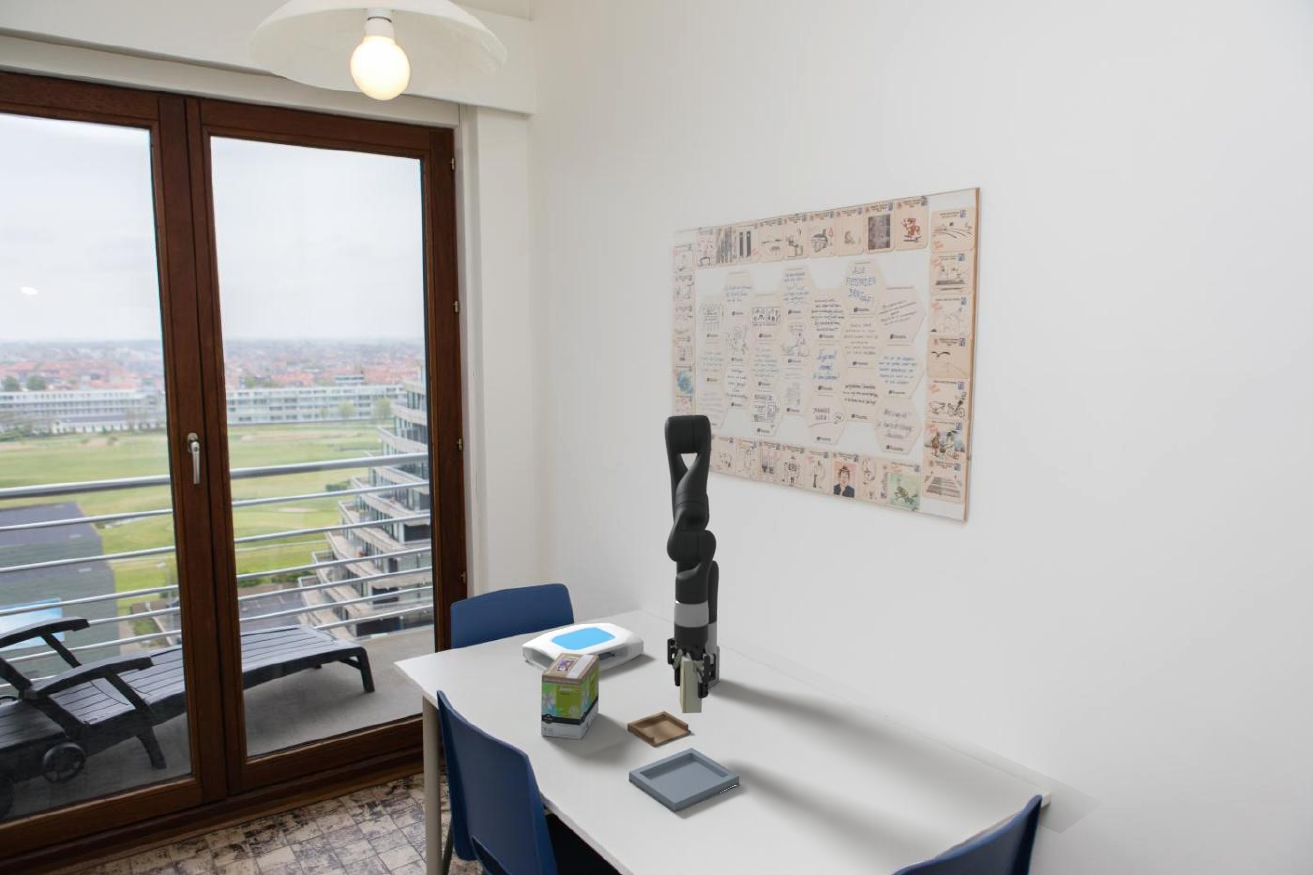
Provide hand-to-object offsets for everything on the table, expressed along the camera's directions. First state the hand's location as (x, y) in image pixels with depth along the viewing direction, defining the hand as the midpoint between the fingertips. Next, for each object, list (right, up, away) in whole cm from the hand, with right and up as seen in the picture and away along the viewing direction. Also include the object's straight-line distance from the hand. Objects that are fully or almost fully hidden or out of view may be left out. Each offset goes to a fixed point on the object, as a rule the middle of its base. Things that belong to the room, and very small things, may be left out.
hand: (690, 691), depth 187 cm
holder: (-7, -12, +10) cm, 17 cm away
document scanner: (-28, -8, +55) cm, 63 cm away
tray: (-2, -15, -13) cm, 20 cm away
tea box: (-28, -12, +14) cm, 33 cm away
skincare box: (0, -4, +1) cm, 4 cm away
